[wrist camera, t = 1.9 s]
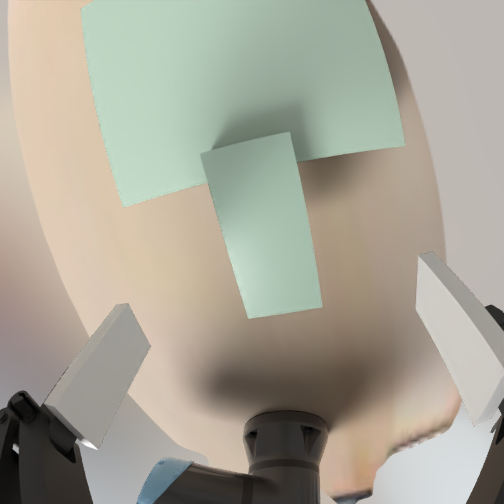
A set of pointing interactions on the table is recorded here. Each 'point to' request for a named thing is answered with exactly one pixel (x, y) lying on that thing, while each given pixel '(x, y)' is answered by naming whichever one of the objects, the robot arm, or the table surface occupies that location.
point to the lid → (240, 117)
